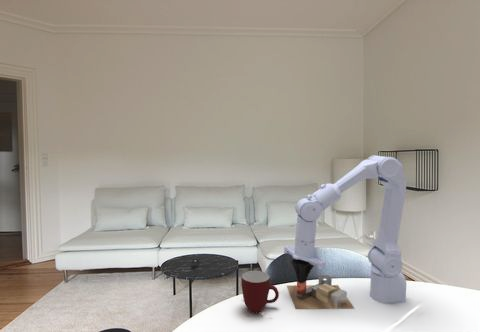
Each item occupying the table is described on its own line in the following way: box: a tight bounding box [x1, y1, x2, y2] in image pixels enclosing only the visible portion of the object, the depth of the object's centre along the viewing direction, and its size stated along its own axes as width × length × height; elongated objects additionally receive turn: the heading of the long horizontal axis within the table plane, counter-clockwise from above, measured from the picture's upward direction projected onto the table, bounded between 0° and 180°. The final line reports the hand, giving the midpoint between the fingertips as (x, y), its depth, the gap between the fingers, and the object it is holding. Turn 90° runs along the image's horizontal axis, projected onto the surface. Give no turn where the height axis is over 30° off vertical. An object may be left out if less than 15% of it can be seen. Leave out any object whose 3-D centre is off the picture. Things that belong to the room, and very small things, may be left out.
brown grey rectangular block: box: [330, 288, 348, 310], centre depth 94 cm, size 5×2×4 cm, turn 130°
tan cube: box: [316, 284, 336, 303], centre depth 97 cm, size 4×4×4 cm
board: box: [286, 284, 356, 310], centre depth 99 cm, size 17×15×1 cm
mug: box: [240, 270, 280, 315], centre depth 92 cm, size 11×8×10 cm
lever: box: [296, 274, 332, 300], centre depth 101 cm, size 14×5×5 cm, turn 126°
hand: (301, 283), depth 97 cm, fingers closed, pressing on lever
